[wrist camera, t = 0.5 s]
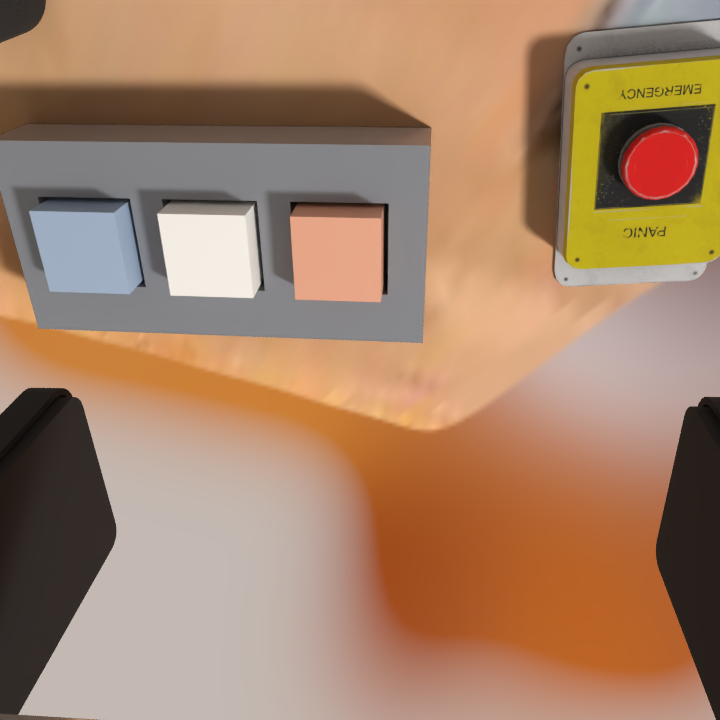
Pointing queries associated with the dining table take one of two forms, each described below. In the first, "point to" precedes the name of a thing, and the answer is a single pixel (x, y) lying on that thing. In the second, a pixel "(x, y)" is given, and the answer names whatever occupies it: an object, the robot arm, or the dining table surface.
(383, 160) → the key panel
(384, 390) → the dining table surface
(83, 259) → the slate blue key
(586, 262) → the emergency button
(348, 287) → the terracotta key
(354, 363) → the dining table surface
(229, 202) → the off white key
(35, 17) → the drinking cup
